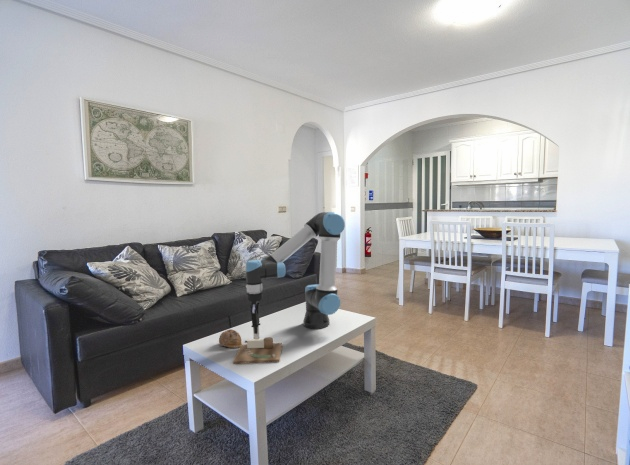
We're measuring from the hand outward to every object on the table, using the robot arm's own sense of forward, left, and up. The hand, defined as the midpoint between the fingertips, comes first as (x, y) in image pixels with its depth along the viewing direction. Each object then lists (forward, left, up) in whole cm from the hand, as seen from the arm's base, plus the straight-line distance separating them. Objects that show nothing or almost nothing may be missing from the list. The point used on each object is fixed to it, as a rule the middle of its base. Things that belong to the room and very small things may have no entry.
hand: (256, 339), depth 163 cm
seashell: (+13, -2, -4) cm, 14 cm away
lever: (-2, +6, -2) cm, 7 cm away
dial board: (-3, +10, -3) cm, 11 cm away
